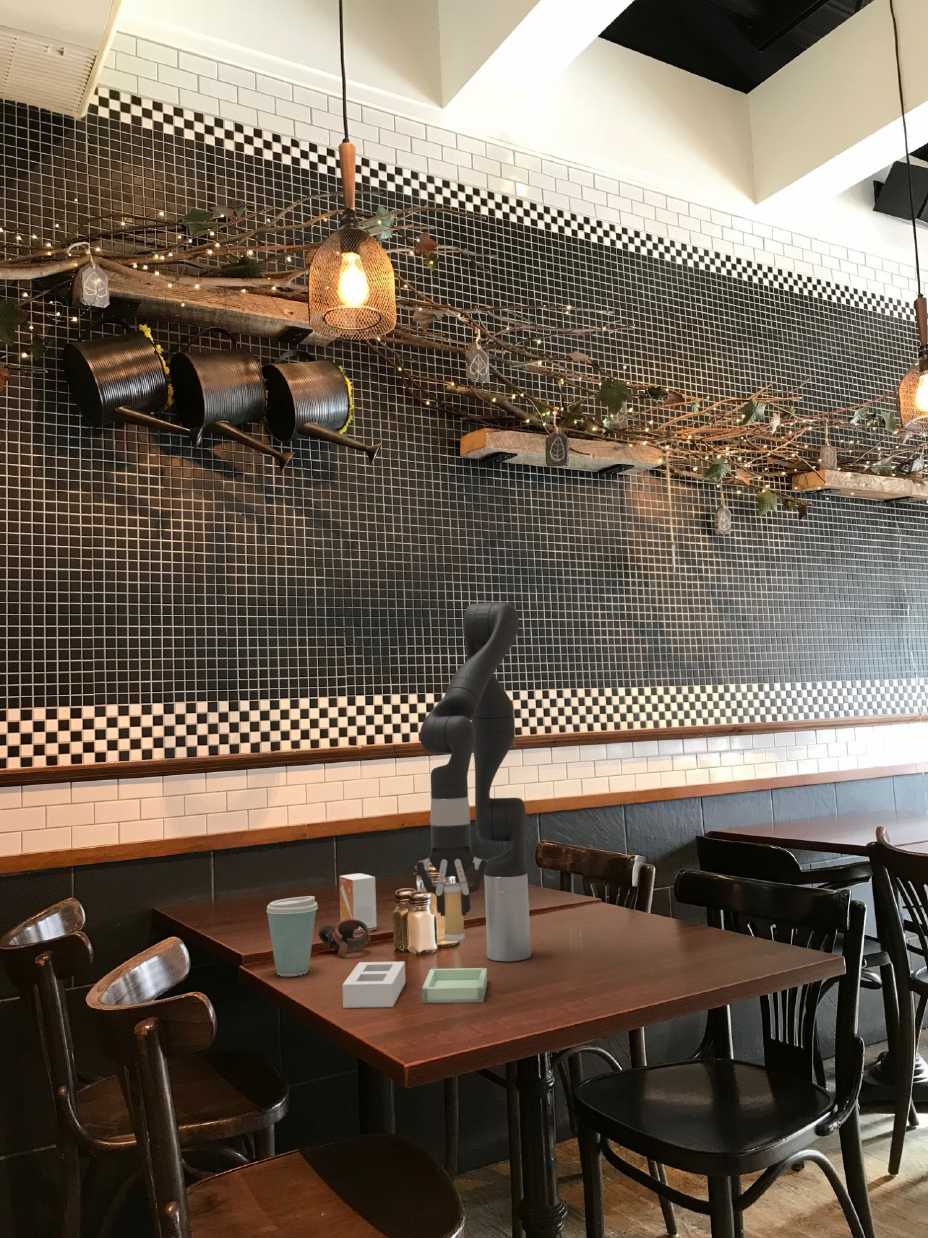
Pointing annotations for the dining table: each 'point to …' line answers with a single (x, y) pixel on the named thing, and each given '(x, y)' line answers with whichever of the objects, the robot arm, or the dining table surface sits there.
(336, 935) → the pottery mug
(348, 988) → the frame
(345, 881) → the small box
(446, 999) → the parts tray
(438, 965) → the dining table surface
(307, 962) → the disposable coffee cup
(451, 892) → the fuse
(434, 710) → the robot arm
